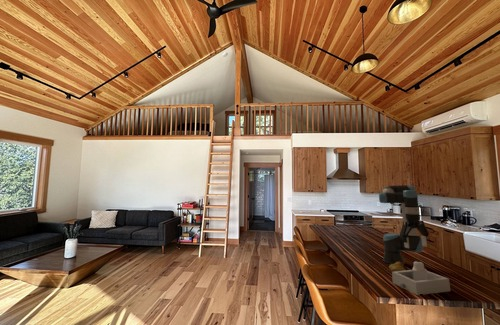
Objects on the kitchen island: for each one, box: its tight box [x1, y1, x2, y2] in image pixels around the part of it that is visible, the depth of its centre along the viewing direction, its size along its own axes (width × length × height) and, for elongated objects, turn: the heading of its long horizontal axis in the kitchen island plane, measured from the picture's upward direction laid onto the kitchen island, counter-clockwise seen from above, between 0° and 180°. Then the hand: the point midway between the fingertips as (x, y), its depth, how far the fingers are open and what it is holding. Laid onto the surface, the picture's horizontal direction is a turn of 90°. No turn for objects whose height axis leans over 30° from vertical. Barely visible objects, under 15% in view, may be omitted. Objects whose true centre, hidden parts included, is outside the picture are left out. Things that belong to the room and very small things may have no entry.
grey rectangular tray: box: [391, 269, 451, 296], centre depth 135 cm, size 17×26×7 cm, turn 100°
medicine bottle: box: [411, 260, 428, 281], centre depth 136 cm, size 7×7×12 cm
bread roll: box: [388, 262, 406, 273], centre depth 155 cm, size 13×10×8 cm
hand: (415, 247), depth 138 cm, fingers open, 13 cm apart
